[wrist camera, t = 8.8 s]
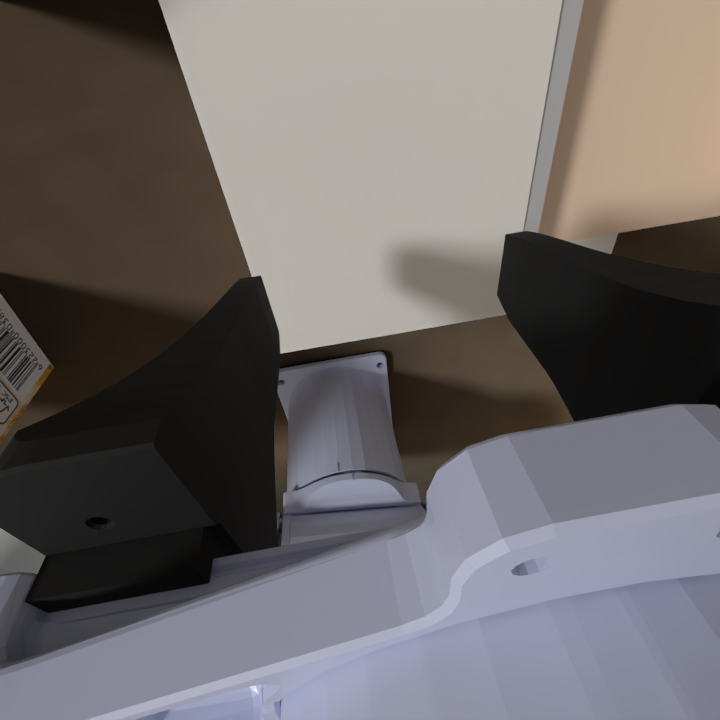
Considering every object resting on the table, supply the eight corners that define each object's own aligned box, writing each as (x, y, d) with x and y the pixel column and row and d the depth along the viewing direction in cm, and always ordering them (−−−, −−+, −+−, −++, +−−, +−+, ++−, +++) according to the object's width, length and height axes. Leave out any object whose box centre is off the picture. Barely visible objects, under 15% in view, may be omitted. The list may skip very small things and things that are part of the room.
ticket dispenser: (601, 247, 24) (659, 288, 20) (280, 301, 23) (278, 354, 19) (711, -101, 14) (859, -149, 11) (184, -22, 14) (144, -42, 10)
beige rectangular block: (730, 206, 21) (838, 249, 17) (441, 255, 21) (478, 311, 17) (865, -54, 15) (1093, -89, 11) (448, 11, 14) (511, 1, 10)
